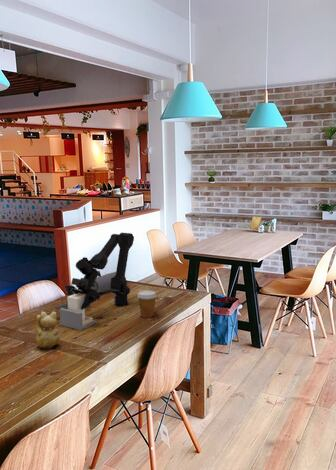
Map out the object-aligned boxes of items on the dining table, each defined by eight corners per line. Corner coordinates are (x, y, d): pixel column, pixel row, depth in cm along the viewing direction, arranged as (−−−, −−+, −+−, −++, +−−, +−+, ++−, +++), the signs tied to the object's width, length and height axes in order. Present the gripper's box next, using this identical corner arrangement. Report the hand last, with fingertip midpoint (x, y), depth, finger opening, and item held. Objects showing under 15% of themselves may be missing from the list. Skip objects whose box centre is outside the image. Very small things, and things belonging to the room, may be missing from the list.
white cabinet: (77, 319, 207) (76, 293, 205) (86, 321, 204) (85, 295, 202) (68, 322, 202) (67, 296, 200) (77, 325, 199) (76, 298, 197)
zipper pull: (53, 306, 209) (76, 292, 233) (54, 319, 210) (77, 303, 234) (69, 308, 207) (91, 293, 230) (70, 321, 208) (92, 304, 231)
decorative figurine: (60, 341, 183) (58, 308, 181) (59, 349, 175) (57, 315, 173) (37, 343, 182) (35, 310, 179) (35, 352, 174) (32, 317, 171)
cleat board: (76, 317, 212) (75, 302, 210) (96, 322, 205) (95, 306, 204) (60, 324, 203) (59, 308, 201) (80, 330, 196) (79, 313, 194)
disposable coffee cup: (160, 315, 214) (160, 292, 212) (147, 320, 207) (146, 296, 205) (147, 310, 220) (147, 288, 218) (134, 315, 214) (133, 292, 212)
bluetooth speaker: (114, 284, 269) (113, 269, 267) (125, 287, 263) (125, 271, 262) (88, 293, 251) (87, 277, 249) (99, 296, 245) (99, 279, 244)
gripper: (66, 268, 207) (50, 296, 200) (95, 273, 197) (79, 302, 190) (78, 280, 215) (63, 307, 207) (106, 285, 205) (92, 314, 198)
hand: (74, 307), depth 200 cm, fingers open, 9 cm apart
